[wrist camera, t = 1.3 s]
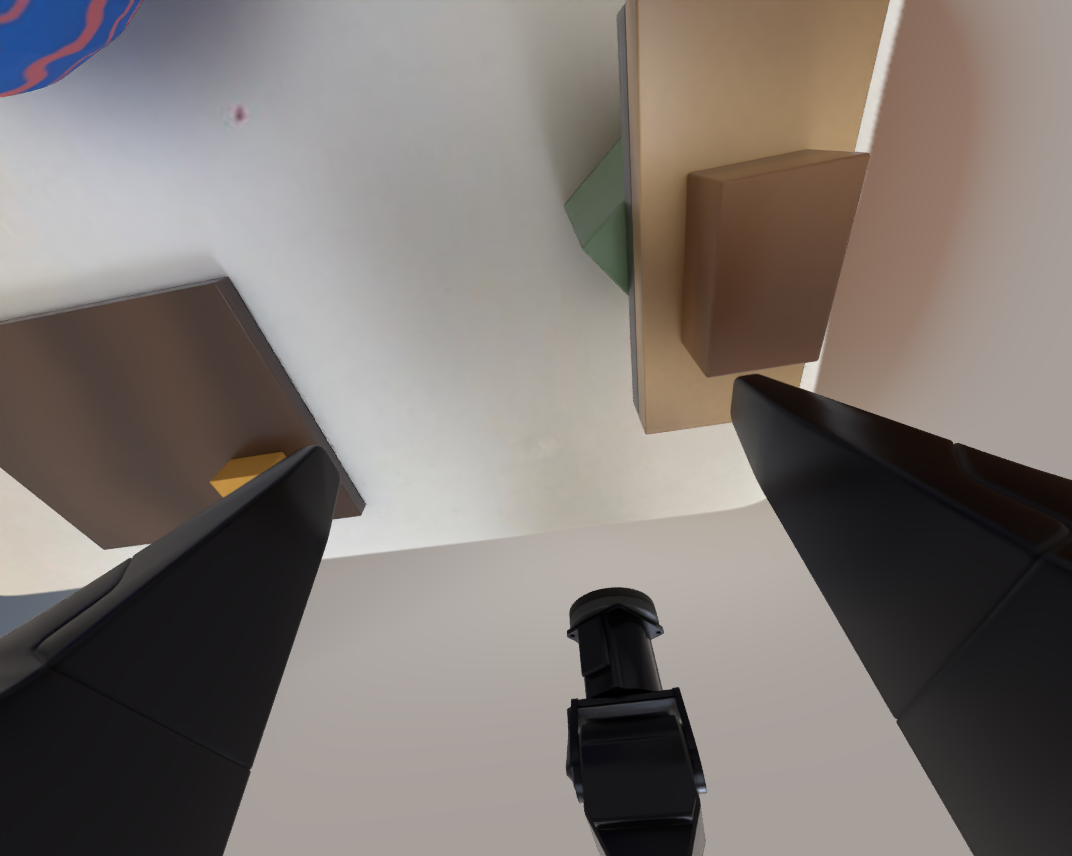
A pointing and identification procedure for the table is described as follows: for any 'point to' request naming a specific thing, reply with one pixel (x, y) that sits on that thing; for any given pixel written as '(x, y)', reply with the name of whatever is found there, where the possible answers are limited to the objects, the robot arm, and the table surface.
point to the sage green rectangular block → (603, 216)
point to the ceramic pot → (54, 38)
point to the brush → (736, 189)
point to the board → (145, 408)
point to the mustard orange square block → (243, 471)
